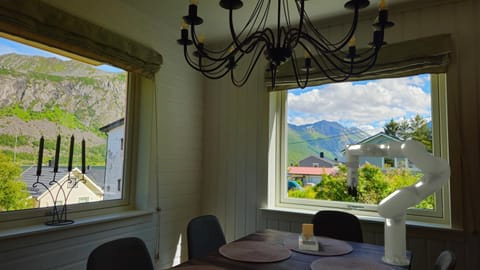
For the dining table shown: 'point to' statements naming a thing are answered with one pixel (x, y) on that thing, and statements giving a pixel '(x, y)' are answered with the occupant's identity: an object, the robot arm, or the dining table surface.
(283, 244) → the dining table surface
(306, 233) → the breaker lever
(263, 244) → the dining table surface
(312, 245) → the breaker panel
